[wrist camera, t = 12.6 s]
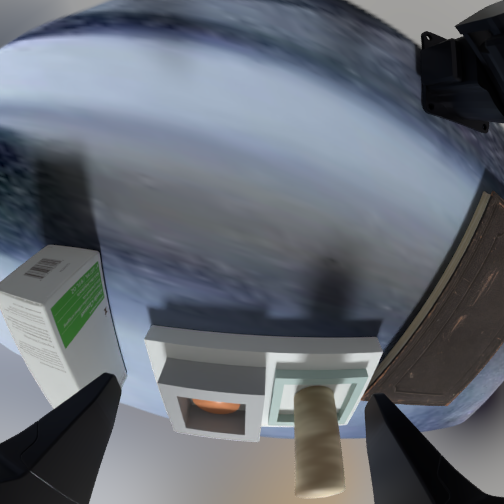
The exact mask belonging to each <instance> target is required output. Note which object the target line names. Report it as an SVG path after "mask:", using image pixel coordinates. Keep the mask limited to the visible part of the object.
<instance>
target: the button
mask: <svg viewBox="0 0 504 504" xmlns="http://www.w3.org/2000/svg"><path fill="white" fill-rule="evenodd" d="M192 400H193V402H194V403H195V404H196V405H197V406H198V407H199V408H201V409H202V410H204V411H207V412H210V413H214V414H229V413H233V412H235V411H236V410H238V409H239V407H240V404H236V403H225V402H216V401H207V400H199V399H192Z"/></svg>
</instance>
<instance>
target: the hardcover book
mask: <svg viewBox="0 0 504 504" xmlns="http://www.w3.org/2000/svg"><path fill="white" fill-rule="evenodd" d="M503 342H504V200H503V199H502V198H501V197H500V196H499V195H498V194H497V193H496V192H495V191H493V190H492V193H491V194H487V193H486V192H483V194H482V197H481V199H480V201H479V204H478V206H477V208H476V211H475V213H474V215H473V218H472V220H471V222H470V224H469V226H468V228H467V230H466V232H465V234H464V236H463V238H462V240H461V242H460V244H459V246H458V248H457V250H456V252H455V254H454V256H453V258H452V259H451V261H450V263H449V265H448V267H447V268H446V270H445V272H444V274H443V275H442V277H441V279H440V280H439V282H438V284H437V285H436V287H435V288H434V290H433V292H432V293H431V295H430V296H429V298H428V300H427V301H426V303H425V304H424V306H423V307H422V309H421V310H420V312H419V313H418V315H417V316H416V317H415V319H414V320H413V322H412V323H411V325H410V326H409V327H408V329H407V330H406V331H405V333H404V334H403V335H402V337H401V338H400V339H399V341H398V342H397V343H396V345H395V346H394V347H393V349H392V350H391V351H390V352H389V354H388V355H387V356H386V357H385V359H384V360H383V361H382V362H381V363H380V365H379V366H378V367H377V368H376V369H375V371H374V374H373V376H372V378H371V380H370V382H369V384H368V386H367V388H366V390H365V392H364V394H363V396H362V398H361V400H362V401H369V399H370V398H371V396H372V395H373V394H376V393H384V394H385V395H386V396H387V397H388V398H389V399H390V400H391V401H392V402H393V403H394V404H405V405H427V406H448V405H449V404H450V403H451V402H452V401H453V400H454V399H455V398H456V397H457V396H458V395H459V394H460V393H461V392H462V391H463V390H464V389H465V388H466V387H467V386H468V384H469V383H470V382H471V381H472V380H473V379H474V378H475V377H476V376H477V375H478V373H479V372H480V371H481V370H482V369H483V368H484V366H485V365H486V364H487V363H488V362H489V360H490V359H491V358H492V357H493V355H494V354H495V353H496V352H497V350H498V349H499V348H500V346H501V345H502V344H503Z"/></svg>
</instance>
